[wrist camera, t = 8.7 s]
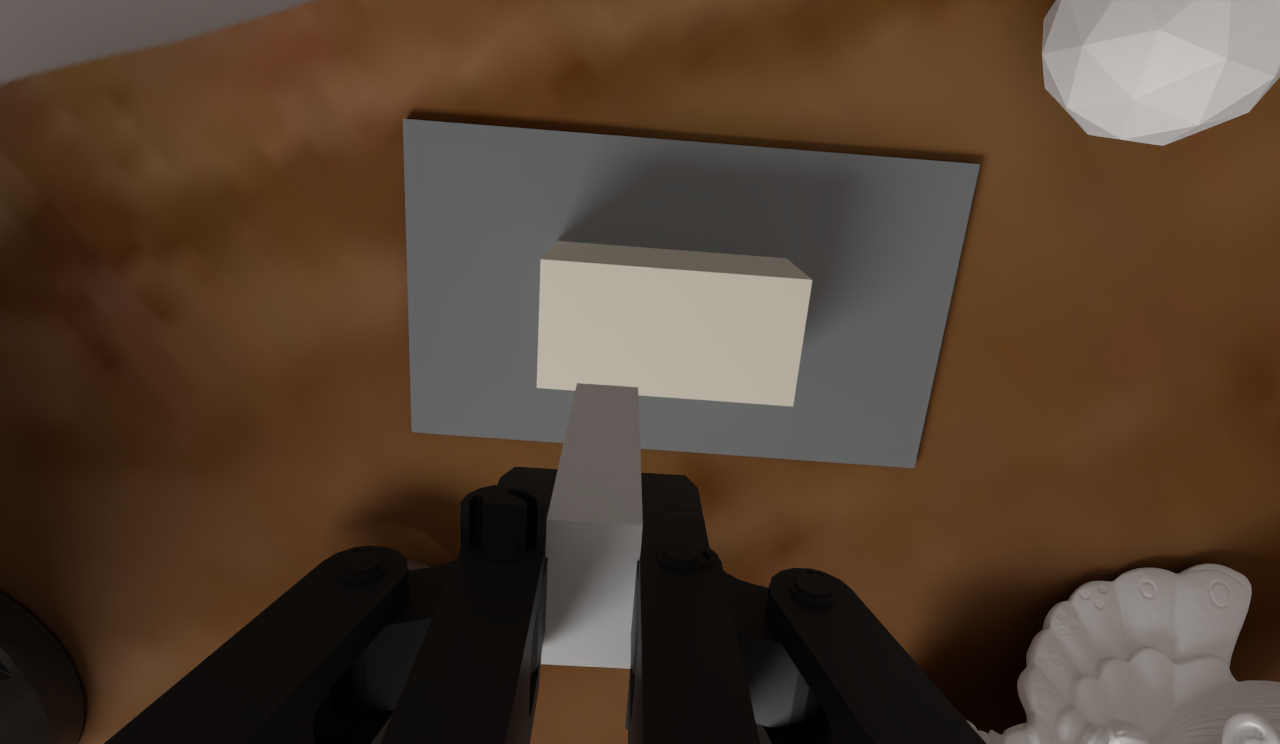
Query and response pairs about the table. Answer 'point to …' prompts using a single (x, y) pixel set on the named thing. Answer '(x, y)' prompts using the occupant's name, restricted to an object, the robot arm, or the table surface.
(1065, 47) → the geometric ball
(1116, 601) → the cherub figurine
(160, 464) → the table surface
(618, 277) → the cream block
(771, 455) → the grey mat
